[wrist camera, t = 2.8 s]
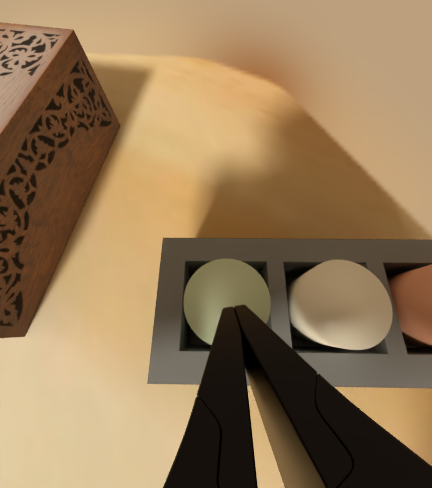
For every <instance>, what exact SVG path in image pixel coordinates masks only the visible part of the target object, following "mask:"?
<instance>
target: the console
mask: <svg viewBox="0 0 432 488" xmlns="http://www.w3.org/2000/svg"><path fill="white" fill-rule="evenodd" d="M218 259H235V260H239V261H242V262H244V263H246V264H248V265H250V266H251V267H253V268H254V269H255V270H256V271H257V272H258V273H259V274H260V275H261V277H262V278H263V279H264V281H265V283H266V285H267V287H268V290H269V294H270V300H271V308H270V315H269V318H268V321H267V323H266V324H267V325H268V326H269V327H270V328H271V329H272V330H273V331H274V332H275V333H276V334H277V335H278V336H279V337H280V338H282V339H283V340H284V341H285V342H286V343H287V344H288V345H289V346H290V347H291V348H292V349H293V350H294V351H295V352H297V353H298V354H299V355H300V356H301V357H302V358H303V359H304V360H305V361H306V362H307V363H308V364H309V365H311V366H312V367H313V368H314V369H315V370H316V371H317V374H320V375H321V376H322V377H324V378H325V379H326V380H327V381H328V382H329V383H330V384H331V385H332V386H333V387H381V388H432V347H429V346H418V345H408V344H405V342H404V339H403V335H402V331H401V328H400V324H399V320H398V317H397V313H396V309H395V306H394V302H393V298H392V294H391V291H390V287H389V283H388V280H387V277H390V276H394V275H397V274H401V273H404V272H407V271H411V270H414V269H418V268H421V267H425V266H428V265H432V240H388V239H256V238H163V243H162V252H161V262H160V271H159V280H158V290H157V299H156V309H155V318H154V327H153V337H152V346H151V355H150V365H149V374H148V383H147V384H196V385H200V383H201V379H202V376H203V372H204V369H205V366H206V362H207V359H208V355H209V352H210V349H211V345H210V344H208V343H206V342H205V341H203V340H202V339H200V338H199V337H198V336H197V335H196V334H195V333H194V331H193V330H192V329H191V327H190V325H189V324H188V322H187V319H186V316H185V312H184V293H185V289H186V286H187V284H188V282H189V280H190V278H191V277H192V276H193V274H194V273H195V272H196V271H197V270H198V269H199V268H200V267H202V266H203V265H205V264H206V263H209V262H211V261H214V260H218ZM329 260H347V261H351V262H354V263H357V264H359V265H361V266H363V267H365V268H366V269H368V270H369V271H370V272H372V273H373V274H374V275H375V276H376V277H377V278H378V279H379V280H380V282H381V283H382V284H383V286H384V287H385V289H386V291H387V293H388V295H389V298H390V301H391V305H392V312H393V316H392V323H391V327H390V330H389V332H388V334H387V335H386V337H385V338H384V339H383V340H382V341H381V342H380V343H379V344H377V345H375V346H374V347H371V348H368V349H364V350H349V349H343V348H338V347H332V346H327V345H321V344H315V343H310V342H306V341H303V340H301V339H299V338H297V337H296V336H295V335H293V334H292V333H291V332H290V322H289V312H288V302H287V292H286V285H287V284H288V283H290V282H291V281H293V280H294V279H296V278H298V277H299V276H301V275H303V274H304V273H306V272H307V271H309V270H311V269H312V268H314V267H316V266H317V265H319V264H321V263H323V262H326V261H329ZM246 380H247V385H250V382H249V379H248V376H247V373H246Z"/></svg>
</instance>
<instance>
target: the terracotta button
mask: <svg viewBox="0 0 432 488" xmlns="http://www.w3.org/2000/svg"><path fill="white" fill-rule="evenodd" d="M387 280H388V283H389V287H390V291H391V294H392V298H393V302H394V306H395V309H396V313H397V317H398V320H399V324H400V328H401V331H402V335H403V339H404V342H405V344H408V345H418V346H429V347H432V265H428V266H425V267H421V268H418V269H414V270H411V271H407V272H404V273H401V274H397V275H394V276H390V277H387Z"/></svg>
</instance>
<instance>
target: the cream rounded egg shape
mask: <svg viewBox="0 0 432 488" xmlns="http://www.w3.org/2000/svg"><path fill="white" fill-rule="evenodd" d="M286 292H287V302H288V312H289V322H290V332H291V333H292V334H293V335H295V336H296V337H297V338H299V339H301V340H303V341H306V342H310V343H315V344H321V345H327V346H332V347H338V348H343V349H349V350H364V349H368V348H371V347H374V346H375V345H377V344H379V343H380V342H381V341H382V340H383V339H384V338H385V337H386V335H387V334H388V332H389V330H390V327H391V323H392V316H393V312H392V305H391V301H390V298H389V295H388V293H387V291H386V289H385V287H384V286H383V284H382V283H381V282H380V280H379V279H378V278H377V277H376V276H375V275H374V274H373V273H372V272H370V271H369V270H368V269H366V268H365V267H363V266H361V265H359V264H357V263H354V262H351V261H347V260H329V261H326V262H323V263H321V264H319V265H317V266H316V267H314V268H312V269H311V270H309V271H307V272H306V273H304V274H303V275H301V276H299V277H298V278H296V279H294V280H293V281H291V282H290V283H288V284H287V285H286Z"/></svg>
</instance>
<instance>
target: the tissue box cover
mask: <svg viewBox="0 0 432 488" xmlns="http://www.w3.org/2000/svg"><path fill="white" fill-rule="evenodd" d="M119 127H120V124H119V122H118V120H117V118H116V116H115V114H114V112H113V110H112V108H111V105H110V103H109V101H108V99H107V97H106V95H105V93H104V91H103V89H102V87H101V85H100V83H99V81H98V79H97V77H96V75H95V73H94V71H93V69H92V67H91V64H90V62H89V60H88V58H87V56H86V54H85V52H84V50H83V48H82V46H81V44H80V42H79V40H78V38H77V36H76V34H75V32H74V30H70V29H61V28H50V27H40V26H29V25H20V24H9V23H0V338H9V337H25V335H26V333H27V330H28V328H29V326H30V324H31V321H32V319H33V317H34V315H35V313H36V310H37V308H38V306H39V304H40V302H41V299H42V297H43V295H44V293H45V291H46V288H47V286H48V284H49V282H50V279H51V277H52V275H53V273H54V271H55V268H56V266H57V264H58V262H59V260H60V257H61V255H62V253H63V251H64V249H65V246H66V244H67V242H68V240H69V237H70V235H71V233H72V231H73V229H74V226H75V224H76V222H77V220H78V218H79V215H80V213H81V211H82V209H83V207H84V204H85V202H86V200H87V198H88V195H89V193H90V191H91V189H92V187H93V184H94V182H95V180H96V178H97V176H98V173H99V171H100V169H101V167H102V165H103V162H104V160H105V158H106V156H107V153H108V151H109V149H110V147H111V145H112V142H113V140H114V138H115V136H116V134H117V131H118V129H119Z"/></svg>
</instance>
